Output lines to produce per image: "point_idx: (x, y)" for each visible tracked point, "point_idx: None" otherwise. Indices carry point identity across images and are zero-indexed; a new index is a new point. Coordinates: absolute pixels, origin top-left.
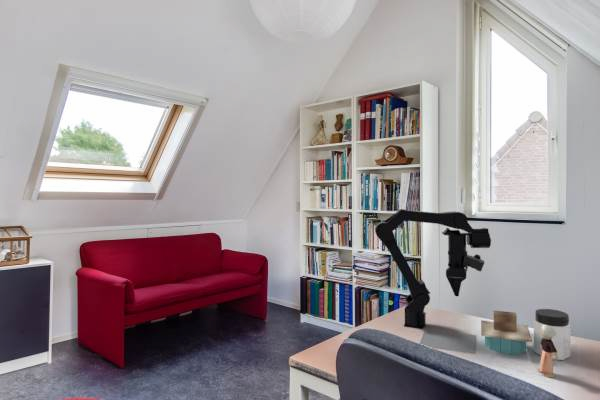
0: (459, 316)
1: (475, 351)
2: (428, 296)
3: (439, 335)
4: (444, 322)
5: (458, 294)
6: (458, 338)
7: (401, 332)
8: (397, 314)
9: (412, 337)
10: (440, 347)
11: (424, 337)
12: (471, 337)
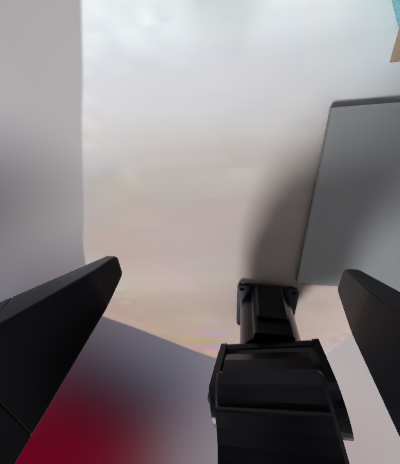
0: (109, 191)
1: None
2: (329, 397)
3: (361, 243)
4: (197, 233)
5: (373, 280)
6: (391, 179)
7: (334, 330)
8: (184, 337)
9: None
10: None
11: (391, 283)
12: (370, 126)
